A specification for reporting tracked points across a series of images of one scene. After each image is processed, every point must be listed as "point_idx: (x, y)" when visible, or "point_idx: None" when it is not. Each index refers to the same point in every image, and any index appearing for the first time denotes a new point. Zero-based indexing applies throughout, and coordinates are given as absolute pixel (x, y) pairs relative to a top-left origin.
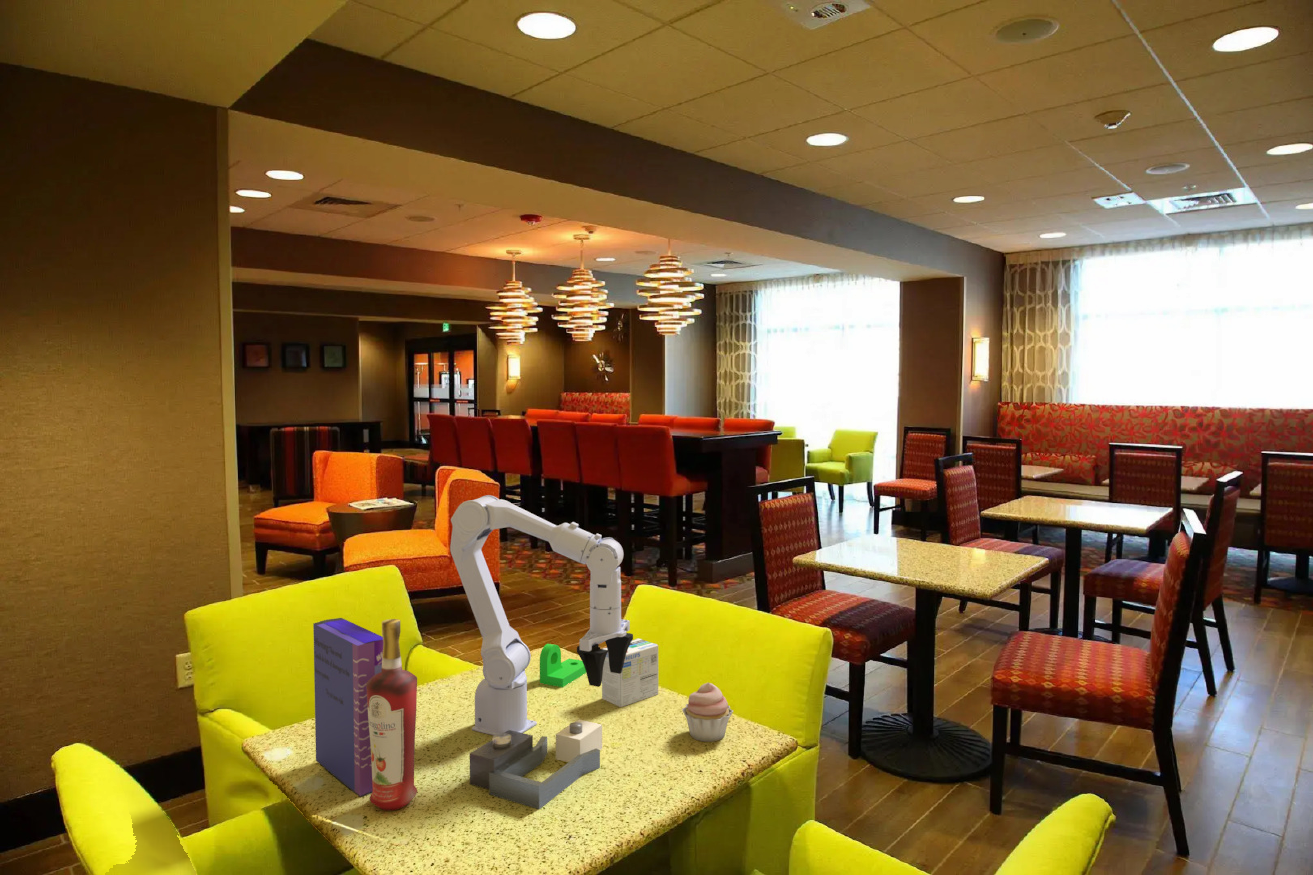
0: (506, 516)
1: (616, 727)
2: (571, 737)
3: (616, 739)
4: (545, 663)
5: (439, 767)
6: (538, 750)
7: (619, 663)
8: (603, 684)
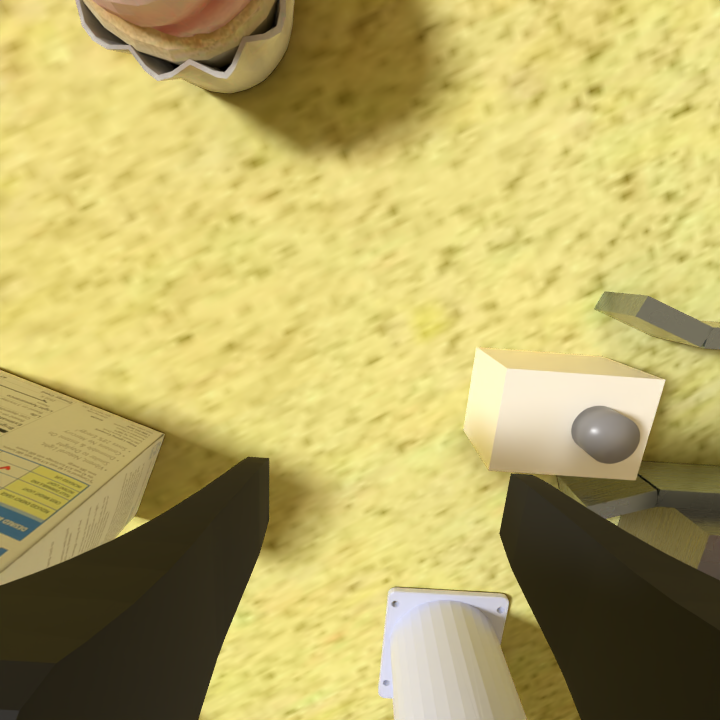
0: None
1: (312, 377)
2: (651, 418)
3: (395, 336)
4: None
5: None
6: (668, 485)
7: (243, 506)
8: None
